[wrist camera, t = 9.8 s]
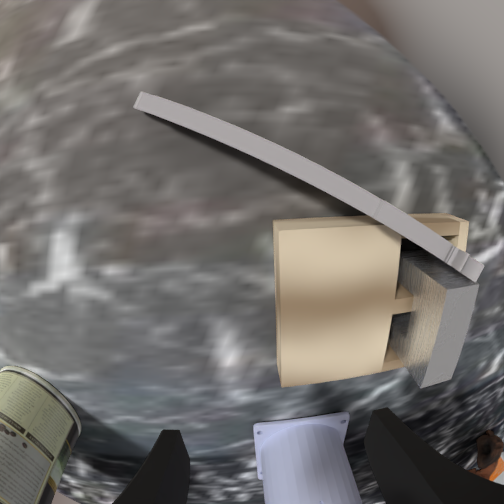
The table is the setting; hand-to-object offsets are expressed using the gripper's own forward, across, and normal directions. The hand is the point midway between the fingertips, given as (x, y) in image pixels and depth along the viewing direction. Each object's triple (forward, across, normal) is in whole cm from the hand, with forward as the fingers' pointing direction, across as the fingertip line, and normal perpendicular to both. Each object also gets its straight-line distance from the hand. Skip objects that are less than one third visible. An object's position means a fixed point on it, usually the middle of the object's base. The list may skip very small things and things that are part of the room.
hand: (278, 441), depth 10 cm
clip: (+10, -10, 0) cm, 14 cm away
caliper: (+10, -3, -9) cm, 13 cm away
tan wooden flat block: (+10, -7, -1) cm, 12 cm away
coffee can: (+10, +22, +10) cm, 26 cm away
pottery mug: (+10, -29, +27) cm, 41 cm away
